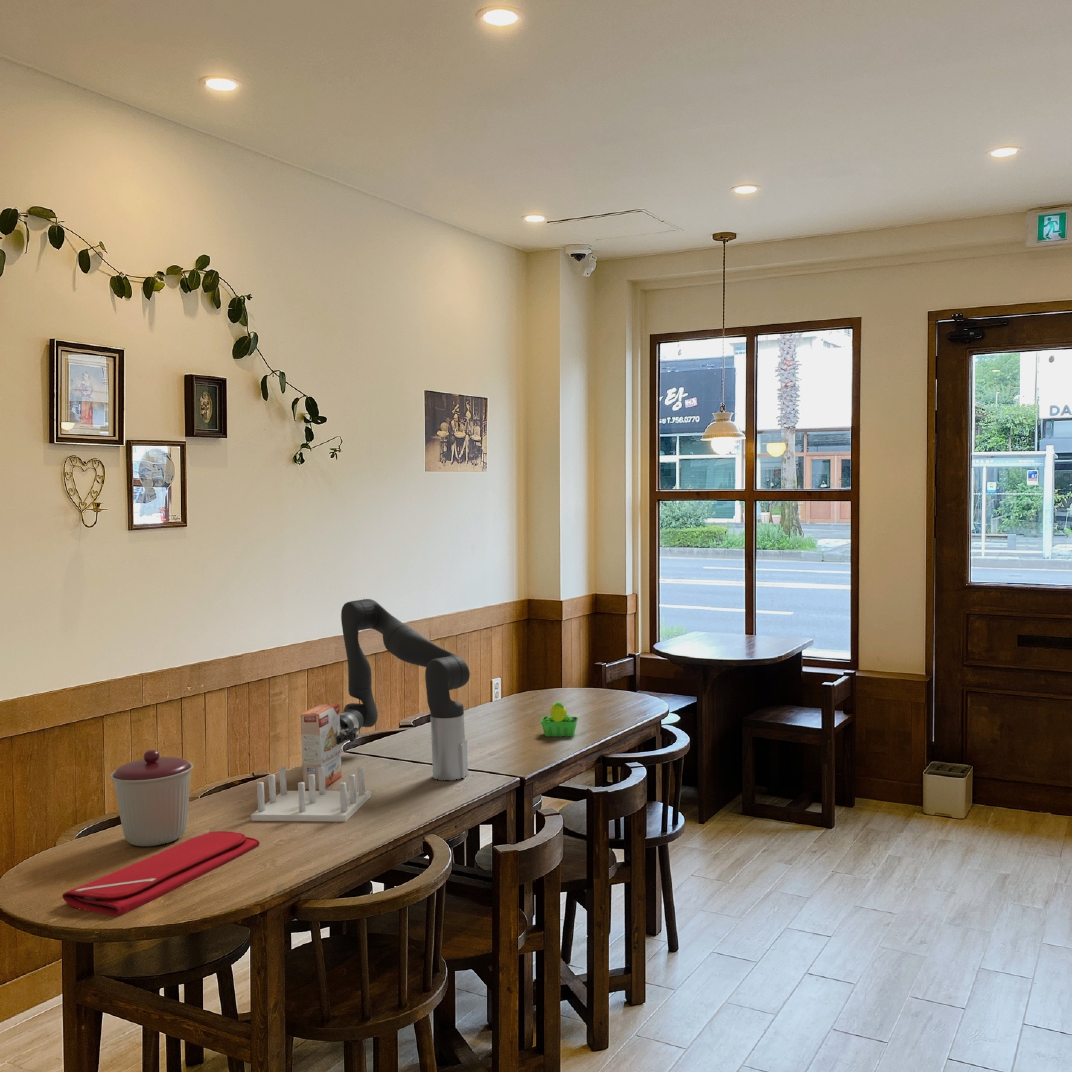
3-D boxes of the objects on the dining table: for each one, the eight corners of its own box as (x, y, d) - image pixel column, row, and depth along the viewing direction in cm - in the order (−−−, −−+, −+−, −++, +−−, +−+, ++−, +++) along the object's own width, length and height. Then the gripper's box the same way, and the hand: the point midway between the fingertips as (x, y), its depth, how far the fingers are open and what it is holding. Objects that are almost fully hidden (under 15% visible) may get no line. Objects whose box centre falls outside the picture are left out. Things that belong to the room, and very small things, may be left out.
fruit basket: (579, 732, 327) (577, 697, 327) (575, 738, 319) (574, 703, 318) (544, 731, 329) (543, 697, 329) (539, 738, 321) (538, 703, 320)
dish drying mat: (261, 847, 229) (260, 831, 229) (120, 919, 192) (119, 900, 191) (207, 840, 235) (206, 824, 235) (60, 908, 198) (59, 890, 198)
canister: (109, 836, 239) (104, 748, 239) (188, 822, 248) (184, 737, 247) (119, 859, 224) (114, 764, 223) (203, 842, 232) (199, 751, 232)
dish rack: (370, 796, 264) (369, 764, 263) (345, 821, 244) (344, 786, 244) (283, 796, 267) (281, 764, 267) (251, 820, 247) (249, 786, 247)
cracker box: (323, 791, 271) (319, 713, 270) (302, 790, 272) (298, 713, 271) (343, 776, 284) (340, 702, 283) (323, 776, 285) (320, 702, 285)
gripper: (318, 714, 296) (297, 727, 279) (365, 714, 293) (347, 727, 277) (319, 740, 296) (298, 754, 280) (366, 740, 294) (348, 754, 278)
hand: (322, 741), depth 279 cm, fingers open, 8 cm apart
